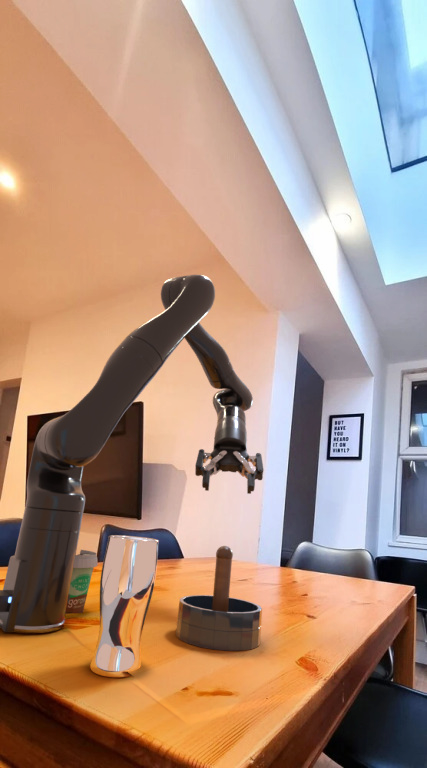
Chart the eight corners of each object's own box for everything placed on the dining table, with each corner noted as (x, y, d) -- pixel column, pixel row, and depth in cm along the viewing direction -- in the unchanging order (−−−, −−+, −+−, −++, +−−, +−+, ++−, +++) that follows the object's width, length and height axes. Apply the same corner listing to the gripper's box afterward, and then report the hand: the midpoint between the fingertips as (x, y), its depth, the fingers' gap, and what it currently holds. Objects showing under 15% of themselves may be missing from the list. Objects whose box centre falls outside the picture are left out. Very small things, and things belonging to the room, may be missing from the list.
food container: (66, 623, 68) (78, 557, 71) (33, 617, 70) (46, 553, 73) (101, 609, 80) (110, 553, 83) (72, 605, 81) (82, 549, 84)
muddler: (215, 642, 64) (223, 546, 68) (200, 635, 67) (208, 544, 71) (235, 640, 66) (241, 547, 70) (219, 633, 69) (226, 545, 74)
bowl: (210, 660, 58) (213, 615, 59) (159, 633, 68) (164, 596, 70) (277, 650, 65) (278, 610, 67) (222, 627, 75) (225, 594, 77)
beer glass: (93, 681, 47) (115, 538, 51) (80, 660, 53) (101, 533, 57) (152, 676, 50) (168, 541, 54) (133, 657, 56) (149, 537, 60)
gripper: (200, 424, 97) (193, 472, 83) (262, 427, 96) (265, 477, 83) (199, 449, 101) (192, 500, 87) (259, 453, 100) (262, 505, 86)
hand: (228, 489), depth 85 cm, fingers open, 8 cm apart
